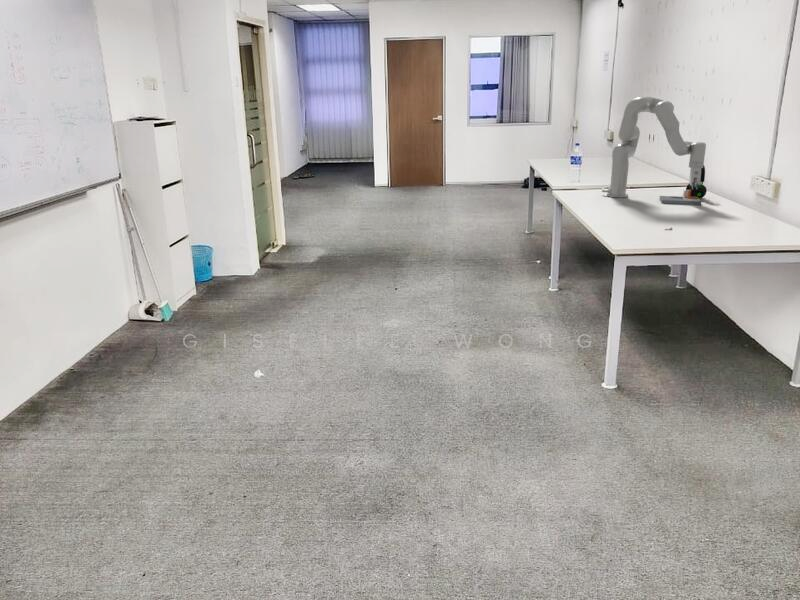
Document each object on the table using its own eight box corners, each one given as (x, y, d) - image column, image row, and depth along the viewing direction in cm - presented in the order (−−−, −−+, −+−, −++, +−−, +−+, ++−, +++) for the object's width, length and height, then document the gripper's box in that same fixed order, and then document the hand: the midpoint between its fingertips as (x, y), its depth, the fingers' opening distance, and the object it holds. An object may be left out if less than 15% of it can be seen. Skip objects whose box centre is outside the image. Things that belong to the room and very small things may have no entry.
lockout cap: (687, 200, 365) (688, 189, 363) (686, 199, 369) (687, 188, 367) (695, 200, 364) (697, 190, 362) (694, 199, 368) (696, 188, 366)
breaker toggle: (683, 197, 372) (684, 190, 370) (682, 196, 375) (683, 189, 374) (688, 198, 371) (689, 190, 370) (687, 196, 375) (688, 189, 373)
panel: (661, 203, 368) (662, 197, 367) (659, 199, 381) (660, 193, 380) (700, 205, 362) (701, 199, 361) (697, 200, 375) (698, 195, 374)
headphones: (690, 200, 378) (695, 166, 371) (683, 195, 392) (687, 162, 386) (707, 200, 377) (712, 166, 370) (699, 195, 391) (703, 163, 385)
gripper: (705, 166, 350) (701, 197, 356) (701, 163, 366) (697, 193, 372) (690, 166, 353) (686, 197, 358) (687, 163, 368) (683, 192, 374)
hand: (692, 195), depth 365 cm, fingers open, 8 cm apart
